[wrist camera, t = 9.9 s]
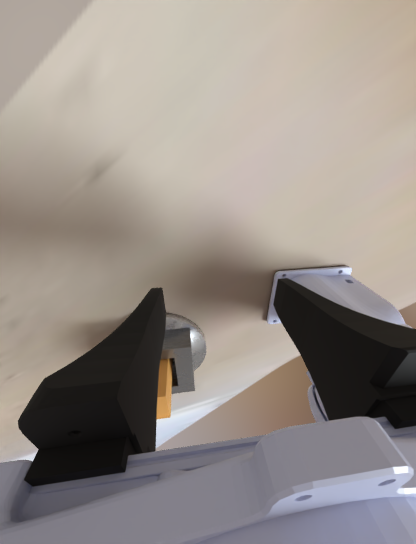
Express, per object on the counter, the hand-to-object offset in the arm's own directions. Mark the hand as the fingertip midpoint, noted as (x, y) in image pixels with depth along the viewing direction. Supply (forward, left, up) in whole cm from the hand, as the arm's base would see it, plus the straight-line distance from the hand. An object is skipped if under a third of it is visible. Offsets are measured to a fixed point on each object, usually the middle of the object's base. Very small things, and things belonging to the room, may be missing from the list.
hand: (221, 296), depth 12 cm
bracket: (+7, +15, -9) cm, 19 cm away
